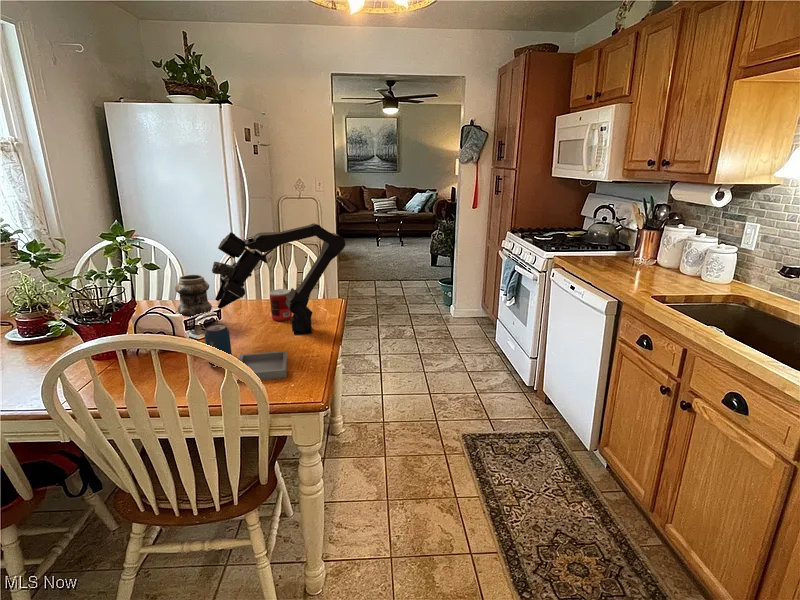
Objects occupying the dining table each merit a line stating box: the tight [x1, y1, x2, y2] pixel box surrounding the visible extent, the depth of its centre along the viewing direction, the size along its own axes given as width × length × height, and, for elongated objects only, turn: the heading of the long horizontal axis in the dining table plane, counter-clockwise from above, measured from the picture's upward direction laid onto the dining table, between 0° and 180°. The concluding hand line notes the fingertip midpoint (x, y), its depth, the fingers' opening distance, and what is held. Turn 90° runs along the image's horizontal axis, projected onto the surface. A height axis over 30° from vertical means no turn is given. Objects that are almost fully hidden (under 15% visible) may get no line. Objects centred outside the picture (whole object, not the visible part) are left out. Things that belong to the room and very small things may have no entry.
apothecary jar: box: [174, 274, 213, 318], centre depth 172 cm, size 12×12×18 cm
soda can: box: [204, 323, 233, 368], centre depth 138 cm, size 7×7×12 cm
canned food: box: [269, 288, 293, 322], centre depth 178 cm, size 8×8×11 cm
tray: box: [237, 350, 288, 383], centre depth 135 cm, size 14×14×2 cm
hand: (217, 304), depth 150 cm, fingers open, 9 cm apart
